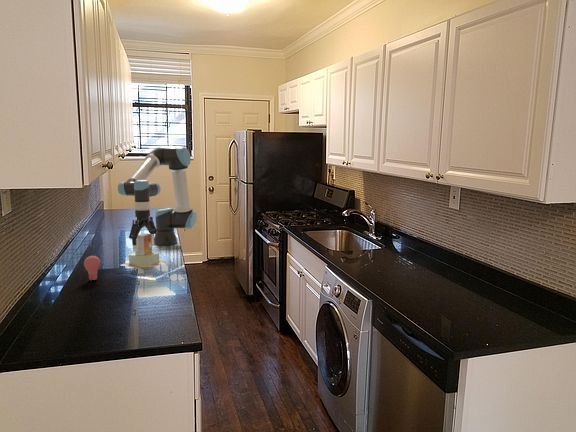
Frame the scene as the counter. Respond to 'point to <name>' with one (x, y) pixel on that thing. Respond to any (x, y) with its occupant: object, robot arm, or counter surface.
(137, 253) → the small box
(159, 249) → the counter surface
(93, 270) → the light bulb
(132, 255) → the base block
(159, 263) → the birch board
